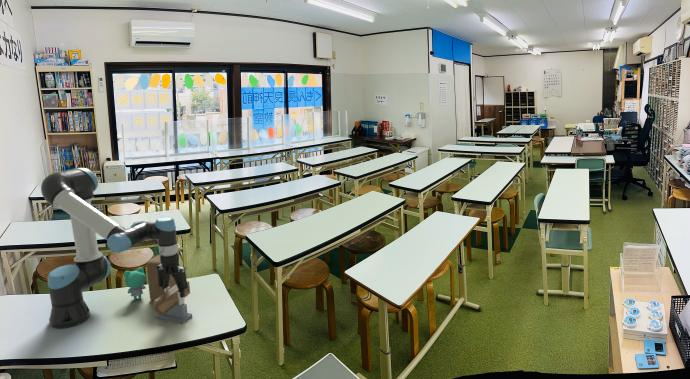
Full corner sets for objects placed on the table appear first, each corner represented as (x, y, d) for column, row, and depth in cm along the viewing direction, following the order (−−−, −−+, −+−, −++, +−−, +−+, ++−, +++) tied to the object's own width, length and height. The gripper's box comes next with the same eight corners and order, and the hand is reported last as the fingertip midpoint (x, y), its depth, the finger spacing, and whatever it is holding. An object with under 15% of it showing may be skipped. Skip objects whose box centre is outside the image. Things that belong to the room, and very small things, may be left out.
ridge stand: (157, 317, 191) (155, 303, 190) (166, 311, 197) (165, 297, 195) (183, 323, 187) (181, 308, 185) (192, 316, 192) (191, 302, 191)
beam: (155, 313, 181) (153, 300, 180) (182, 292, 200) (181, 280, 199) (163, 314, 180) (162, 301, 179) (190, 293, 199) (189, 281, 198)
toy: (144, 292, 214) (141, 264, 211) (150, 298, 209) (147, 269, 205) (124, 298, 208) (121, 269, 205) (130, 304, 203) (126, 275, 199)
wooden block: (168, 302, 205) (164, 263, 200) (149, 300, 207) (145, 261, 202) (179, 293, 214) (176, 255, 210) (161, 291, 216) (158, 253, 212)
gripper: (144, 254, 184) (151, 303, 189) (181, 258, 178) (187, 309, 183) (157, 248, 191) (163, 296, 196) (193, 252, 185) (198, 301, 190)
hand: (175, 302), depth 190 cm, fingers open, 6 cm apart
